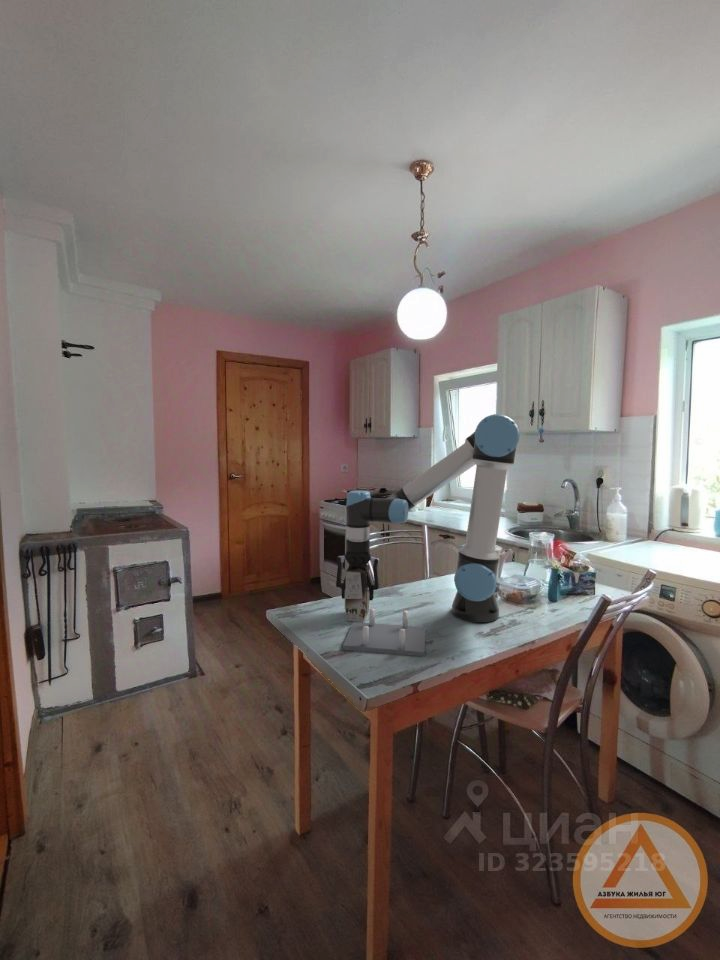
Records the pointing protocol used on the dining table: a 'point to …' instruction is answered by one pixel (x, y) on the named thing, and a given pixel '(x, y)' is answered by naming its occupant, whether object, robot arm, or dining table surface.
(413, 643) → the grey pegged base plate
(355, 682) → the dining table surface
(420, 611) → the dining table surface
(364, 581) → the coffee box
